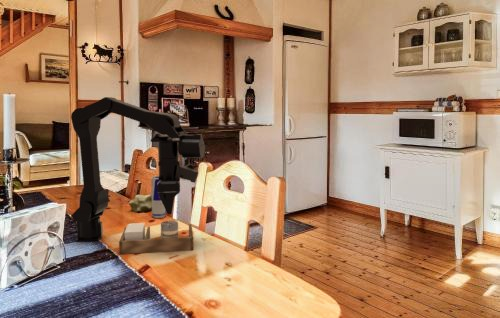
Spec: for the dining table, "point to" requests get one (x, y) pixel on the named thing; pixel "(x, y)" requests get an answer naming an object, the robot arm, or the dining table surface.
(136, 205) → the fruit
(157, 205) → the beverage can
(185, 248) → the crate
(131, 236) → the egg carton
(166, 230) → the clear glass jar
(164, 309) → the dining table surface
